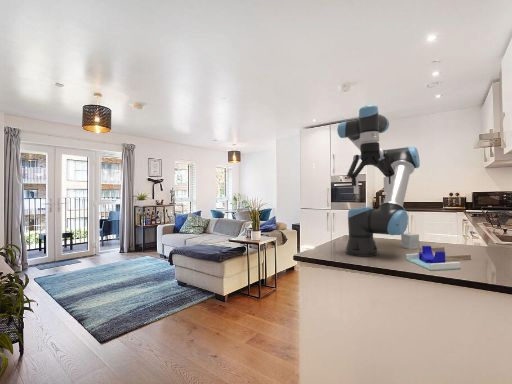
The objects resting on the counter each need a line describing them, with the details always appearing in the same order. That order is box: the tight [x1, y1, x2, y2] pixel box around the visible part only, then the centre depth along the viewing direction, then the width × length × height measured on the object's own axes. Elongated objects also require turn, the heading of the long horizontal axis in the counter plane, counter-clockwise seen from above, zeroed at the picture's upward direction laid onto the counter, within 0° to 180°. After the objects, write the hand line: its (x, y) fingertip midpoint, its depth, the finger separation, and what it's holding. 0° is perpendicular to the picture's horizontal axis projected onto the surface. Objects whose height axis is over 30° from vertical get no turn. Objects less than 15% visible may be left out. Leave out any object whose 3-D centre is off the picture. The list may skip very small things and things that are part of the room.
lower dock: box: [405, 253, 461, 271], centre depth 116 cm, size 16×12×2 cm
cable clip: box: [418, 245, 446, 264], centre depth 115 cm, size 12×4×6 cm, turn 174°
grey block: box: [400, 232, 420, 250], centre depth 146 cm, size 6×6×7 cm
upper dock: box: [419, 246, 472, 262], centre depth 127 cm, size 16×12×2 cm
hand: (371, 193), depth 117 cm, fingers open, 13 cm apart
